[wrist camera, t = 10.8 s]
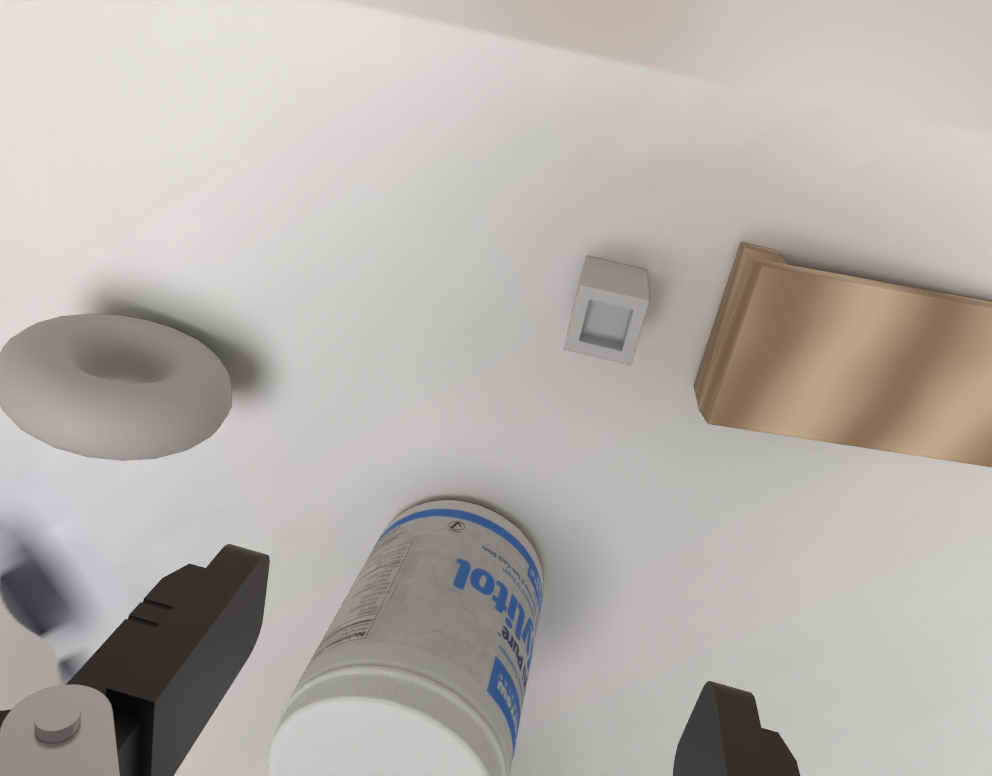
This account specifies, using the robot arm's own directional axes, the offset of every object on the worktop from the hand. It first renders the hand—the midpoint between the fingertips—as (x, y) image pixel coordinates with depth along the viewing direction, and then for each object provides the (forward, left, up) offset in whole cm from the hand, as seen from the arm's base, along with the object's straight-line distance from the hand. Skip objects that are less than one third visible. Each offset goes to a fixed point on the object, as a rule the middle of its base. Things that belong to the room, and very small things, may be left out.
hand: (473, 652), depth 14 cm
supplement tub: (-15, +8, -24) cm, 30 cm away
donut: (-1, +21, -24) cm, 32 cm away
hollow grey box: (0, -2, -24) cm, 24 cm away
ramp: (-4, -13, -24) cm, 28 cm away
